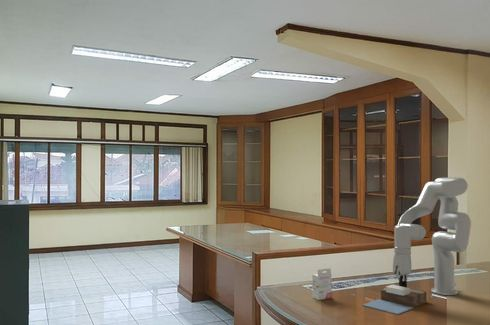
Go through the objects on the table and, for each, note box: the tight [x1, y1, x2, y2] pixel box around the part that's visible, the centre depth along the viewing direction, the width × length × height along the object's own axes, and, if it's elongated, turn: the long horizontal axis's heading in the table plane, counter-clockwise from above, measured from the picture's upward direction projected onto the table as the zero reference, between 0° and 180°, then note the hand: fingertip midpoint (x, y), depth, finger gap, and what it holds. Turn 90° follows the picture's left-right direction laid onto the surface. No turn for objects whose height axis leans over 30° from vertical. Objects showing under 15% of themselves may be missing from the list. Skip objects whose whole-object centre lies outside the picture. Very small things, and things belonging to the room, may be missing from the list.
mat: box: [362, 298, 415, 316], centre depth 203 cm, size 14×18×1 cm
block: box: [385, 284, 411, 296], centre depth 210 cm, size 6×9×2 cm, turn 42°
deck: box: [380, 287, 427, 308], centre depth 213 cm, size 14×16×5 cm
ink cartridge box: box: [311, 267, 333, 301], centre depth 219 cm, size 9×5×15 cm, turn 117°
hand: (402, 288), depth 213 cm, fingers closed
